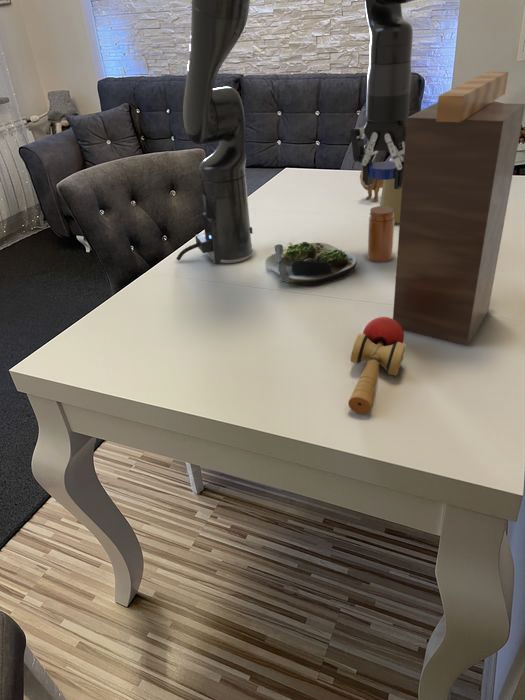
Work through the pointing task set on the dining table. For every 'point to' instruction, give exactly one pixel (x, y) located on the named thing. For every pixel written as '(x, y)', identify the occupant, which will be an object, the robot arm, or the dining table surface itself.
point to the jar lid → (382, 170)
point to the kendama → (375, 358)
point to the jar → (380, 233)
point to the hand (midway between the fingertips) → (383, 186)
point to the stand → (453, 218)
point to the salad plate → (310, 263)
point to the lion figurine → (372, 187)
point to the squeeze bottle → (392, 196)
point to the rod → (470, 97)
